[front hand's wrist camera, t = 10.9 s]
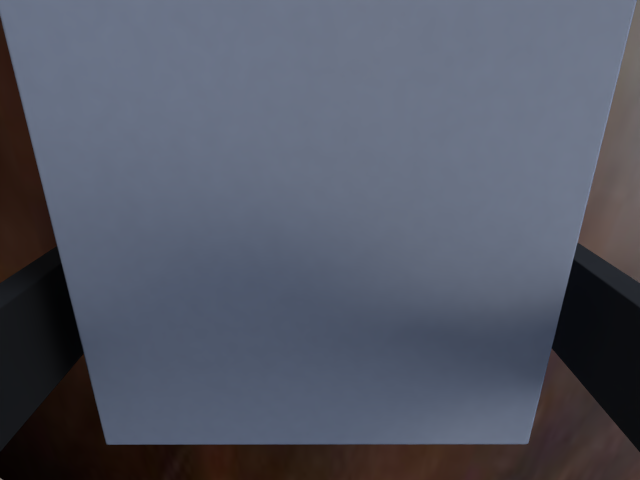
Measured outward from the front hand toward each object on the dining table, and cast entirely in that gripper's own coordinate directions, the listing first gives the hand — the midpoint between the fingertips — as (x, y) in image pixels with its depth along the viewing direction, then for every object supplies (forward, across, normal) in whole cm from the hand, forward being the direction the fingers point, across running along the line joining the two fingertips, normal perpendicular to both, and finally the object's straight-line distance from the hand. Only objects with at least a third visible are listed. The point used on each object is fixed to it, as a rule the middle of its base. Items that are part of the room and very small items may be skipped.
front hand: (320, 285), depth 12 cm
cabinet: (+8, 0, -6) cm, 10 cm away
